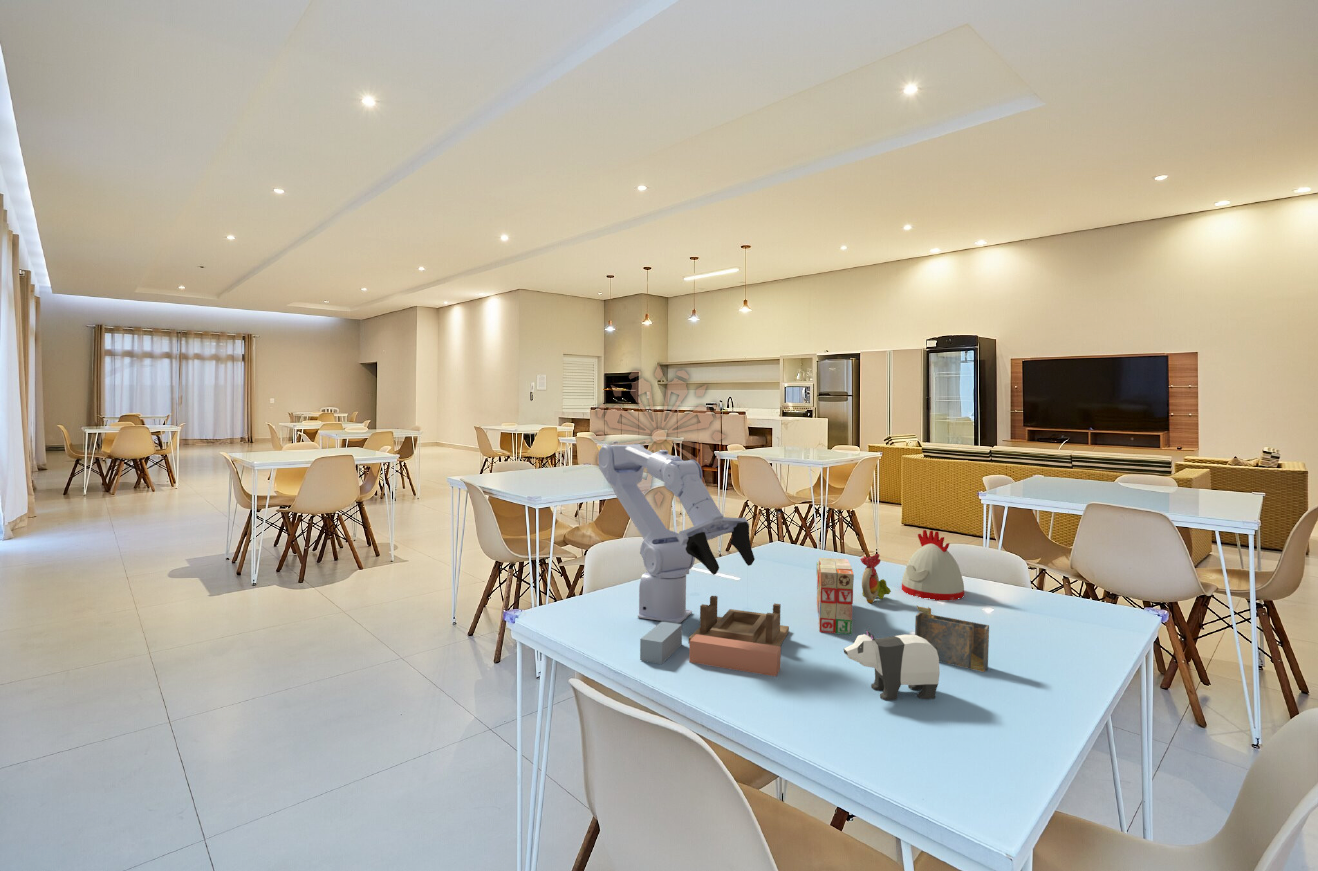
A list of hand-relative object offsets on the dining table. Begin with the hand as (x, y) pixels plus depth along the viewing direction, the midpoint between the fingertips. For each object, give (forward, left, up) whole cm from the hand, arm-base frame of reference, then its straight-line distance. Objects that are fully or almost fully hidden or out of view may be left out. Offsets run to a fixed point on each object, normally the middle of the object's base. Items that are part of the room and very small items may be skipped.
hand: (734, 566), depth 115 cm
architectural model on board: (+36, +9, -16) cm, 41 cm away
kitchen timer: (+35, +55, -15) cm, 67 cm away
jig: (0, +6, -15) cm, 16 cm away
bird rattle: (+22, +42, -15) cm, 50 cm away
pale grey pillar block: (-11, -7, -15) cm, 20 cm away
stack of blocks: (+15, +26, -15) cm, 34 cm away
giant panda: (+28, -8, -15) cm, 33 cm away
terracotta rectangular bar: (+2, -7, -15) cm, 17 cm away
